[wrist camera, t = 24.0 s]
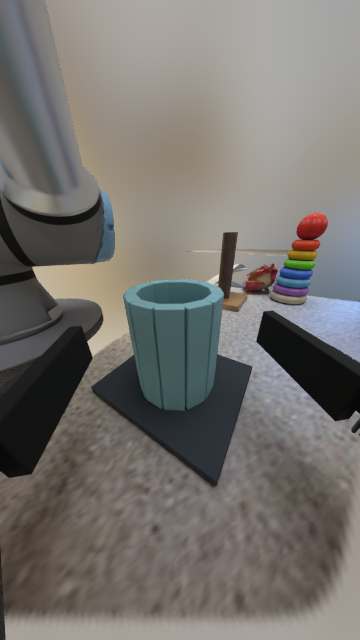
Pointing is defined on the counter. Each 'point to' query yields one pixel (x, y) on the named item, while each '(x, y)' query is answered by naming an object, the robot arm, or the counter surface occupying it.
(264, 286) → the flower
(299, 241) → the stacking toy
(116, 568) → the counter surface
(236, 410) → the mat
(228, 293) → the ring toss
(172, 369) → the planter pot
